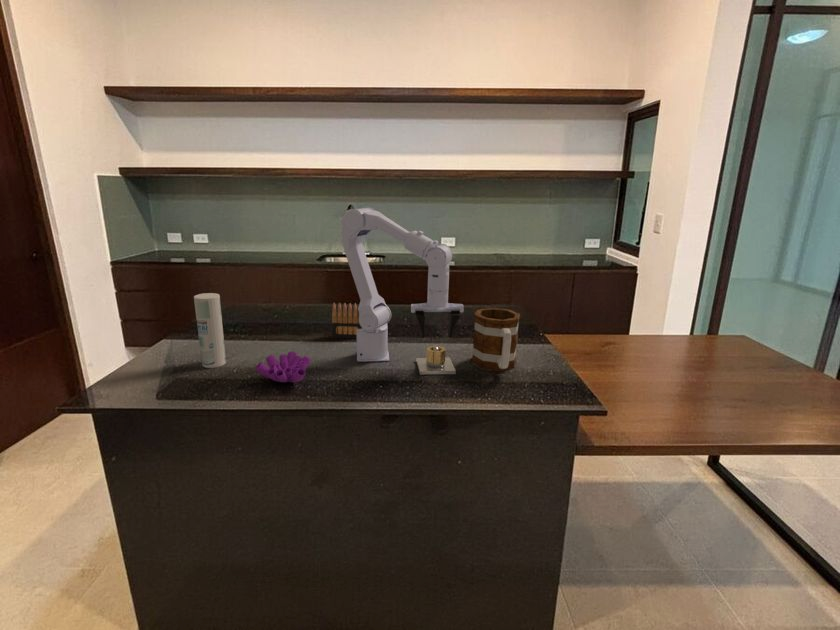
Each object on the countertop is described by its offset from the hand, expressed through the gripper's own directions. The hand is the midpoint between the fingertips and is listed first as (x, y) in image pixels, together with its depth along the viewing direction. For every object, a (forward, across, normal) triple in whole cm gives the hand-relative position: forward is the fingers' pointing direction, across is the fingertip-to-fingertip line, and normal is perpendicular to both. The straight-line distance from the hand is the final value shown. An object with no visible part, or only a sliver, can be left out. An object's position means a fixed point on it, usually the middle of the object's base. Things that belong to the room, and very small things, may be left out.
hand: (436, 336), depth 133 cm
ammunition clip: (+10, -26, +28) cm, 39 cm away
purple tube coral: (+10, -41, -6) cm, 43 cm away
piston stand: (+9, 0, 0) cm, 9 cm away
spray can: (+10, -63, +6) cm, 64 cm away
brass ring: (+7, 0, 0) cm, 7 cm away
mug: (+10, +18, 0) cm, 20 cm away
